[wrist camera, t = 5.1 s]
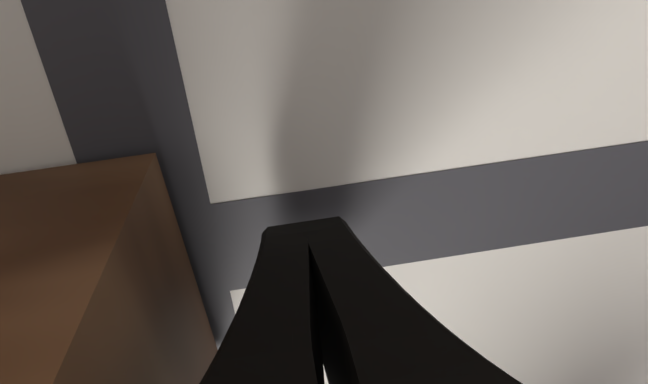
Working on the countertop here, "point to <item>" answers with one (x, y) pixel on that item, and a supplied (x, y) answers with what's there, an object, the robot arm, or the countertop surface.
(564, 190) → the letter mat
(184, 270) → the walnut block
